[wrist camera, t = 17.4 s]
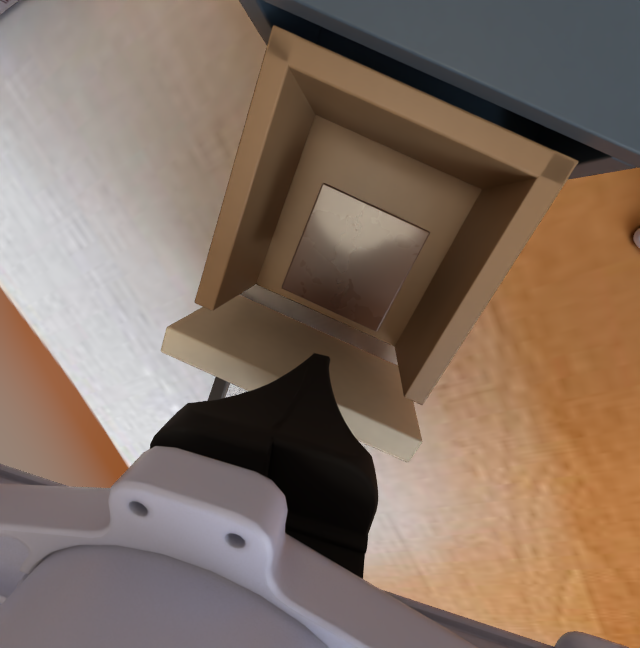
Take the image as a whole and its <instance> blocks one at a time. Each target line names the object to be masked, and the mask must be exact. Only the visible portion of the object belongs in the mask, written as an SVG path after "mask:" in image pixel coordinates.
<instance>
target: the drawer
mask: <svg viewBox="0 0 640 648" xmlns="http://www.w3.org/2000/svg"><path fill="white" fill-rule="evenodd" d="M578 162H579V161H578V160H576V159H574V158H571V157H569V156H567V155H565V154H563V153H560V152H558V151H556V150H552V149H550V148H548V147H546V146H543V145H541V144H539V143H537V142H534V141H532V140H530V139H528V138H526V137H523V136H521V135H519V134H517V133H514V132H512V131H510V130H508V129H505V128H503V127H501V126H499V125H496V124H494V123H492V122H490V121H487V120H485V119H483V118H481V117H479V116H476V115H474V114H472V113H470V112H467V111H465V110H463V109H461V108H458V107H456V106H454V105H452V104H449V103H447V102H445V101H443V100H441V99H438V98H436V97H434V96H432V95H429V94H427V93H425V92H423V91H420V90H418V89H416V88H414V87H411V86H409V85H407V84H405V83H402V82H400V81H398V80H396V79H394V78H391V77H389V76H387V75H385V74H382V73H380V72H378V71H376V70H373V69H371V68H369V67H367V66H364V65H362V64H360V63H358V62H355V61H353V60H351V59H349V58H347V57H344V56H342V55H340V54H338V53H335V52H333V51H331V50H329V49H326V48H324V47H322V46H320V45H317V44H315V43H313V42H311V41H309V40H306V39H304V38H302V37H300V36H297V35H296V34H294V33H291V32H289V31H287V30H285V29H282V28H280V27H278V26H276V25H273V27H272V30H271V34H270V37H269V41H268V45H267V48H266V52H265V55H264V59H263V62H262V66H261V69H260V73H259V76H258V80H257V83H256V87H255V90H254V94H253V98H252V101H251V105H250V108H249V112H248V115H247V119H246V122H245V126H244V129H243V133H242V136H241V140H240V143H239V147H238V150H237V154H236V158H235V161H234V165H233V168H232V172H231V175H230V179H229V182H228V186H227V189H226V193H225V196H224V200H223V203H222V207H221V211H220V214H219V218H218V221H217V225H216V228H215V232H214V235H213V239H212V242H211V246H210V249H209V253H208V256H207V260H206V264H205V267H204V271H203V274H202V278H201V281H200V285H199V288H198V292H197V295H196V299H195V303H196V304H198V305H201V306H203V307H202V308H200V309H198V310H197V311H195V312H193V313H191V314H189V315H188V316H186V317H184V318H182V319H180V320H179V321H177V322H175V323H173V324H172V325H170V326H168V327H167V329H166V333H165V336H164V340H163V344H162V348H161V352H163V353H165V354H167V355H169V356H171V357H174V358H176V359H178V360H180V361H183V362H185V363H187V364H189V365H191V366H194V367H196V368H198V369H200V370H203V371H205V372H207V373H209V374H212V375H214V376H216V378H215V381H214V384H213V387H212V389H211V392H210V395H209V398H208V401H211V400H217V399H222V398H225V396H226V393H227V391H228V388H229V385H230V383H232V384H234V385H236V386H238V387H240V388H243V389H245V390H247V391H251V390H254V389H257V388H260V387H262V386H264V385H267V384H269V383H271V382H273V381H275V380H277V379H278V378H280V377H282V376H283V375H285V374H287V373H288V372H290V371H291V370H293V369H294V368H296V367H297V366H299V365H300V364H301V363H303V362H304V361H305V360H307V359H308V358H309V357H310V356H311V355H313V353H317V354H321V355H325V356H329V358H330V364H329V374H330V380H331V386H332V390H333V393H334V397H335V400H336V403H337V405H338V408H339V410H340V412H341V414H342V417H343V419H344V421H345V422H346V424H347V426H348V427H349V429H350V430H351V432H352V434H353V435H354V436H355V438H356V439H357V440H358V441H360V442H363V443H365V444H367V445H369V446H372V447H374V448H376V449H378V450H381V451H383V452H385V453H387V454H389V455H392V456H394V457H396V458H398V459H401V460H403V461H405V462H409V461H410V460H411V458H412V457H413V455H414V454H415V452H416V451H417V449H418V448H419V446H420V445H421V443H422V438H421V434H420V429H419V425H418V420H417V416H416V412H415V407H414V403H413V401H414V402H416V403H418V404H421V405H423V404H424V402H425V401H426V399H427V397H428V396H429V394H430V393H431V391H432V390H433V388H434V387H435V385H436V383H437V382H438V380H439V379H440V377H441V376H442V374H443V372H444V371H445V369H446V368H447V366H448V365H449V363H450V362H451V360H452V358H453V357H454V355H455V354H456V352H457V351H458V349H459V348H460V346H461V344H462V343H463V341H464V340H465V338H466V337H467V335H468V334H469V332H470V330H471V329H472V327H473V326H474V324H475V323H476V321H477V320H478V318H479V316H480V315H481V313H482V312H483V310H484V309H485V307H486V305H487V304H488V302H489V301H490V299H491V298H492V296H493V295H494V293H495V291H496V290H497V288H498V287H499V285H500V284H501V282H502V281H503V279H504V277H505V276H506V274H507V273H508V271H509V270H510V268H511V267H512V265H513V263H514V262H515V260H516V259H517V257H518V256H519V254H520V253H521V251H522V249H523V248H524V246H525V245H526V243H527V242H528V240H529V238H530V237H531V235H532V234H533V232H534V231H535V229H536V228H537V226H538V224H539V223H540V221H541V220H542V218H543V217H544V215H545V214H546V212H547V210H548V209H549V207H550V206H551V204H552V203H553V201H554V200H555V198H556V196H557V195H558V193H559V192H560V190H561V189H562V187H563V186H564V184H565V182H566V181H567V179H568V178H569V176H570V175H571V173H572V171H573V170H574V168H575V167H576V165H577V164H578ZM323 183H326V184H328V185H330V186H332V187H334V188H337V189H339V190H341V191H343V192H345V193H347V194H350V195H352V196H354V197H356V198H358V199H360V200H363V201H365V202H367V203H369V204H371V205H373V206H376V207H378V208H380V209H382V210H384V211H387V212H389V213H391V214H393V215H395V216H397V217H400V218H402V219H404V220H406V221H408V222H410V223H413V224H415V225H417V226H419V227H421V228H423V229H426V230H428V231H429V232H430V235H429V236H428V238H427V240H426V242H425V244H424V246H423V248H422V249H421V251H420V253H419V255H418V257H417V259H416V261H415V262H414V264H413V266H412V268H411V270H410V272H409V274H408V275H407V277H406V279H405V281H404V283H403V285H402V287H401V288H400V290H399V292H398V294H397V296H396V298H395V300H394V301H393V303H392V305H391V307H390V309H389V311H388V313H387V314H386V316H385V318H384V320H383V322H382V324H381V326H380V327H379V329H378V331H377V332H375V331H373V330H371V329H369V328H367V327H364V326H362V325H360V324H358V323H356V322H354V321H351V320H349V319H347V318H345V317H343V316H341V315H338V314H336V313H334V312H332V311H330V310H328V309H325V308H323V307H321V306H319V305H317V304H315V303H312V302H310V301H308V300H306V299H304V298H301V297H299V296H297V295H295V294H293V293H291V292H288V291H286V290H284V289H282V284H283V282H284V279H285V277H286V274H287V272H288V269H289V266H290V264H291V261H292V259H293V256H294V254H295V251H296V249H297V246H298V244H299V241H300V239H301V236H302V233H303V231H304V228H305V226H306V223H307V221H308V218H309V216H310V213H311V211H312V208H313V206H314V203H315V201H316V198H317V195H318V193H319V190H320V188H321V185H322V184H323ZM255 284H257V285H259V286H261V287H263V288H266V289H268V290H270V291H272V292H275V293H277V294H279V295H281V296H283V297H286V298H288V299H290V300H292V301H295V302H297V303H299V304H301V305H303V306H306V307H308V308H310V309H312V310H315V311H317V312H319V313H321V314H324V315H326V316H328V317H330V318H332V319H335V320H337V321H339V322H341V323H344V324H346V325H348V326H350V327H353V328H355V329H357V330H359V331H361V332H364V333H366V334H368V335H370V336H373V337H375V338H377V339H379V340H381V341H384V342H386V343H388V344H390V345H393V346H395V351H396V356H397V362H398V366H397V365H395V364H393V363H390V362H388V361H386V360H384V359H382V358H379V357H377V356H375V355H373V354H370V353H368V352H366V351H364V350H361V349H359V348H357V347H355V346H353V345H350V344H348V343H346V342H344V341H341V340H339V339H337V338H335V337H333V336H330V335H328V334H326V333H324V332H321V331H319V330H317V329H315V328H312V327H310V326H308V325H306V324H304V323H301V322H299V321H297V320H295V319H292V318H290V317H288V316H286V315H284V314H281V313H279V312H277V311H275V310H272V309H270V308H268V307H266V306H263V305H261V304H259V303H257V302H255V301H252V300H250V299H248V298H246V297H243V296H241V295H239V294H241V293H242V292H244V291H246V290H247V289H249V288H251V287H252V286H254V285H255Z"/></svg>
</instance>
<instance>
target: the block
mask: <svg viewBox="0 0 640 648" xmlns="http://www.w3.org/2000/svg"><path fill="white" fill-rule="evenodd" d="M429 235H430V232H429V231H428V230H426V229H423V228H421V227H419V226H417V225H415V224H413V223H410V222H408V221H406V220H404V219H402V218H400V217H397V216H395V215H393V214H391V213H389V212H387V211H384V210H382V209H380V208H378V207H376V206H373V205H371V204H369V203H367V202H365V201H363V200H360V199H358V198H356V197H354V196H352V195H350V194H347V193H345V192H343V191H341V190H339V189H337V188H334V187H332V186H330V185H328V184H326V183H323V184H322V185H321V188H320V190H319V193H318V195H317V198H316V201H315V203H314V206H313V208H312V211H311V213H310V216H309V218H308V221H307V223H306V226H305V228H304V231H303V233H302V236H301V239H300V241H299V244H298V246H297V249H296V251H295V254H294V256H293V259H292V261H291V264H290V266H289V269H288V272H287V274H286V277H285V279H284V282H283V284H282V289H284V290H286V291H288V292H291V293H293V294H295V295H297V296H299V297H301V298H304V299H306V300H308V301H310V302H312V303H315V304H317V305H319V306H321V307H323V308H325V309H328V310H330V311H332V312H334V313H336V314H338V315H341V316H343V317H345V318H347V319H349V320H351V321H354V322H356V323H358V324H360V325H362V326H364V327H367V328H369V329H371V330H373V331H375V332H377V331H378V329H379V327H380V326H381V324H382V322H383V320H384V318H385V316H386V314H387V313H388V311H389V309H390V307H391V305H392V303H393V301H394V300H395V298H396V296H397V294H398V292H399V290H400V288H401V287H402V285H403V283H404V281H405V279H406V277H407V275H408V274H409V272H410V270H411V268H412V266H413V264H414V262H415V261H416V259H417V257H418V255H419V253H420V251H421V249H422V248H423V246H424V244H425V242H426V240H427V238H428V236H429Z"/></svg>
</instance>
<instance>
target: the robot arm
mask: <svg viewBox="0 0 640 648" xmlns="http://www.w3.org/2000/svg"><path fill="white" fill-rule="evenodd" d="M633 240H634V242H635V244H636V245H637V246H638V247H639V248H640V228H639V229H638V230H637V231H636V232H635V234H634V239H633ZM329 364H330V358H329V356H325V355H321V354H317V353H313V355H311V356H310V357H309V358H308V359H307V360H305V361H304V362H303V363H301V364H300V365H299V366H297V367H296V368H294V369H293V370H291V371H290V372H288V373H287V374H285V375H283V376H282V377H280V378H278V379H277V380H275V381H273V382H271V383H269V384H267V385H264V386H262V387H260V388H257V389H254V390H251V391H248V392H245V393H242V394H239V395H235V396H231V397H227V398H222V399H217V400H211V401H203V402H195V403H187V404H186V405H185V406H184V407H183V408H182V409H181V410H179V411H178V412H177V413H176V414H175V415H174V416H173V417H172V418H171V419H170V420H169V421H168V422H167V423H166V424H165V425H164V426H163V427H162V428H161V429H160V431H159V432H158V433H157V434H156V435H155V436H154V438H153V440H152V442H151V444H150V449H149V450H147V451H146V452H144V453H143V454H142V455H141V456H140V457H139V458H138V459H137V460H136V461H135V462H134V463H133V464H132V465H131V466H130V468H129V469H128V470H127V471H126V472H125V473H124V474H123V475H122V476H121V477H120V478H119V479H118V480H117V481H116V482H115V483H114V485H113V486H112V487H111V488H90V487H69V486H66V485H63V484H60V483H57V482H54V481H51V480H48V479H45V478H42V477H39V476H36V475H33V474H30V473H27V472H24V471H21V470H18V469H14V468H11V467H9V466H5V465H3V464H0V648H629V647H627V646H624V645H621V644H617V643H614V642H611V641H608V640H605V639H602V638H599V637H596V636H593V635H590V634H586V633H583V632H577V631H574V632H567V633H565V634H564V635H562V636H561V637H560V638H559V640H558V641H557V643H556V645H555V647H553V646H550V645H547V644H544V643H541V642H538V641H535V640H532V639H529V638H526V637H523V636H520V635H517V634H514V633H511V632H508V631H505V630H502V629H499V628H496V627H493V626H489V625H486V624H483V623H480V622H477V621H474V620H471V619H468V618H465V617H462V616H459V615H456V614H453V613H450V612H447V611H444V610H441V609H438V608H435V607H432V606H429V605H426V604H423V603H420V602H417V601H414V600H411V599H408V598H405V597H402V596H399V595H396V594H393V593H390V592H387V591H384V590H381V589H379V588H377V587H375V586H374V585H372V584H370V583H369V582H367V581H365V580H364V579H363V570H364V557H365V553H366V550H367V542H368V533H369V530H370V527H371V524H372V521H373V519H374V516H375V513H376V510H377V505H378V487H377V479H376V473H375V468H374V464H373V459H372V456H371V455H370V454H369V452H368V451H367V450H366V449H365V448H364V447H363V446H362V445H361V444H360V443H359V442H358V440H357V439H356V438H355V436H354V435H353V434H352V432H351V430H350V429H349V427H348V426H347V424H346V422H345V421H344V419H343V417H342V414H341V412H340V410H339V408H338V405H337V403H336V400H335V397H334V393H333V390H332V386H331V380H330V374H329Z"/></svg>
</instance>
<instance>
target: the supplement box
mask: <svg viewBox="0 0 640 648" xmlns="http://www.w3.org/2000/svg"><path fill="white" fill-rule="evenodd" d="M17 1H19V0H0V14H2V13H3V12H4V11H6V10H7V9H8V8H10V7H11V6H12V5H13V4H15V3H16V2H17Z"/></svg>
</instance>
